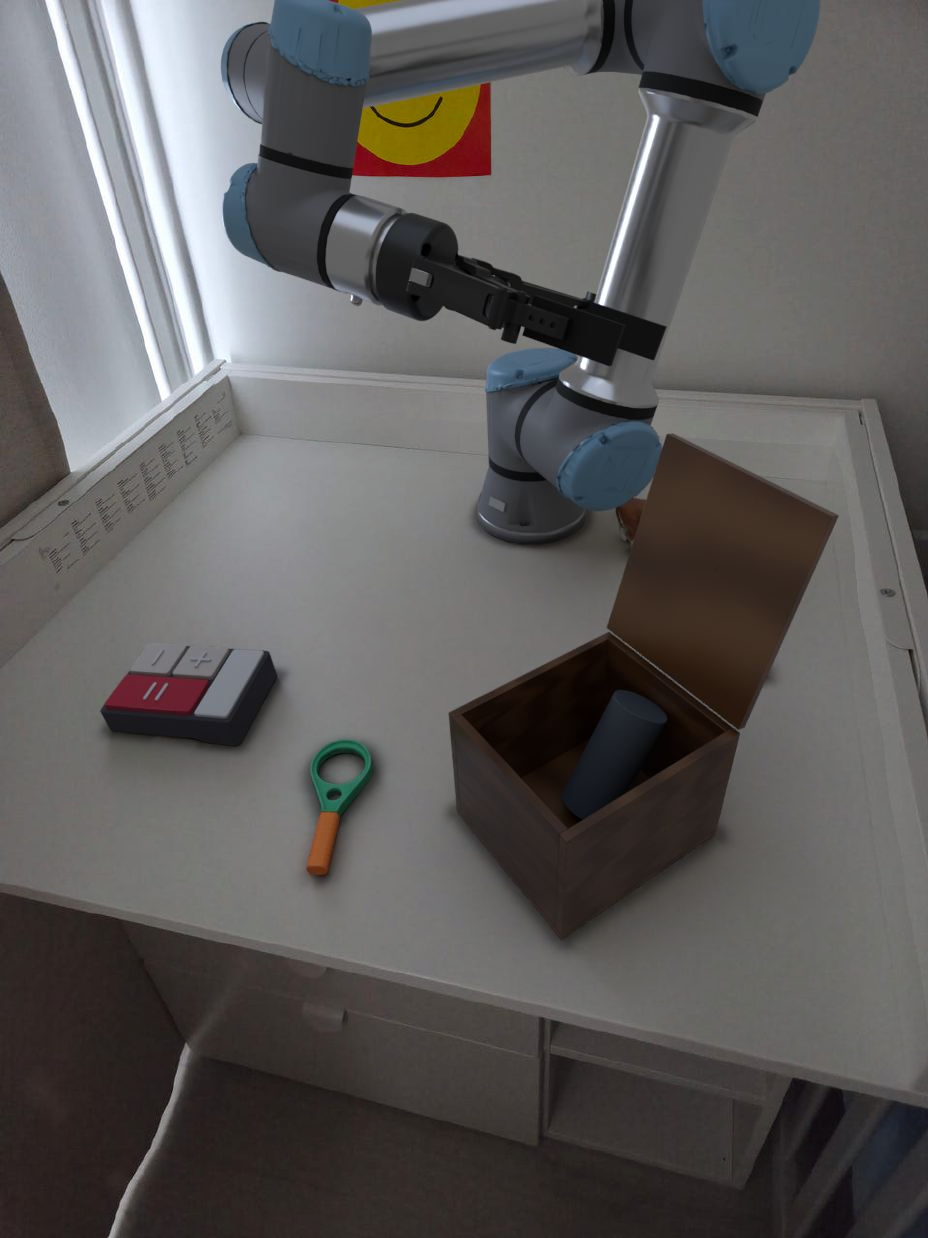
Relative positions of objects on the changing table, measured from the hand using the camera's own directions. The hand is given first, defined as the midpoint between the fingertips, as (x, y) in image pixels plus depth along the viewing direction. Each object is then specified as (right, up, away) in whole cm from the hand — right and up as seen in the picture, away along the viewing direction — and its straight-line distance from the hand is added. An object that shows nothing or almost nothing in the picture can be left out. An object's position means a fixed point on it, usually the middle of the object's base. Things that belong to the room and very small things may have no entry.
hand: (641, 344), depth 60 cm
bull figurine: (+13, -12, +47) cm, 50 cm away
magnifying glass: (-25, -38, +18) cm, 49 cm away
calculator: (-42, -29, +29) cm, 60 cm away
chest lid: (+6, -17, +5) cm, 19 cm away
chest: (-2, -39, +15) cm, 42 cm away
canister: (-2, -37, +14) cm, 40 cm away
